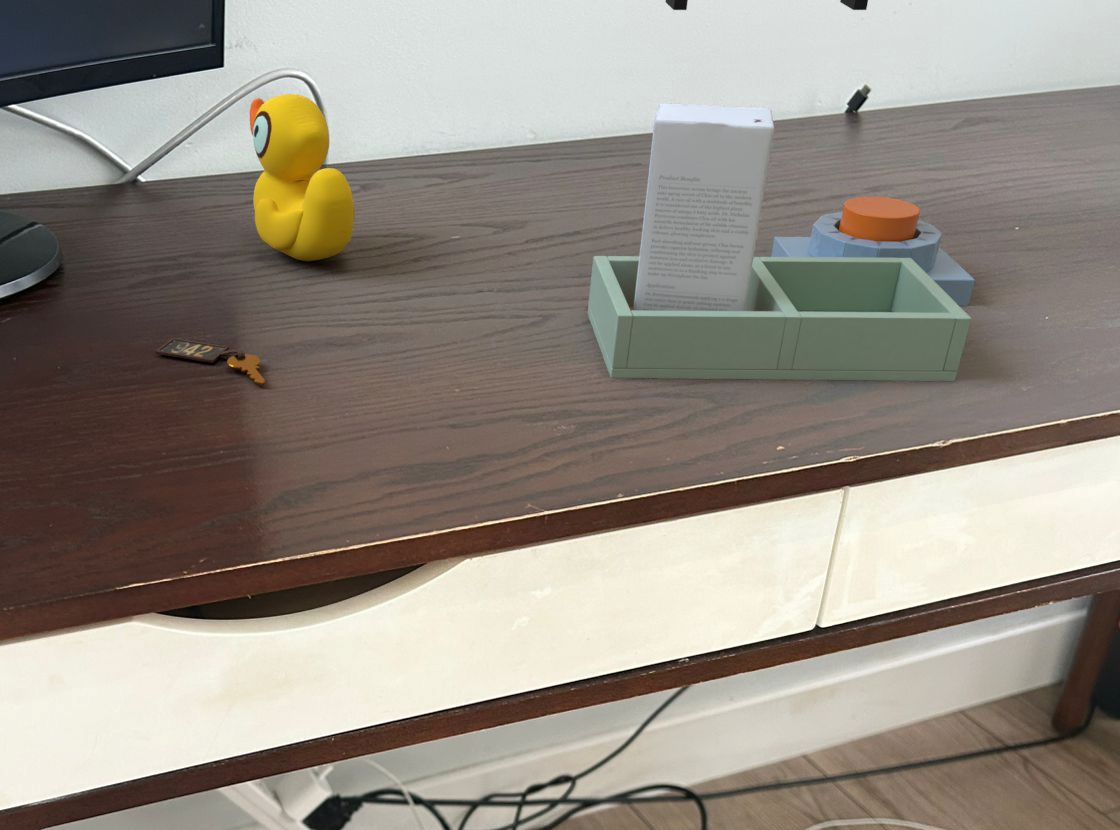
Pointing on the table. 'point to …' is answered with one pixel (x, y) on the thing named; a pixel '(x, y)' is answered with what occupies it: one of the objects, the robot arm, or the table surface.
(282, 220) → the duckling
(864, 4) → the robot arm
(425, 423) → the table surface
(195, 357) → the key tag
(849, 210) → the button
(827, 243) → the button base
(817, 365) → the tray
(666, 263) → the cosmetic box
